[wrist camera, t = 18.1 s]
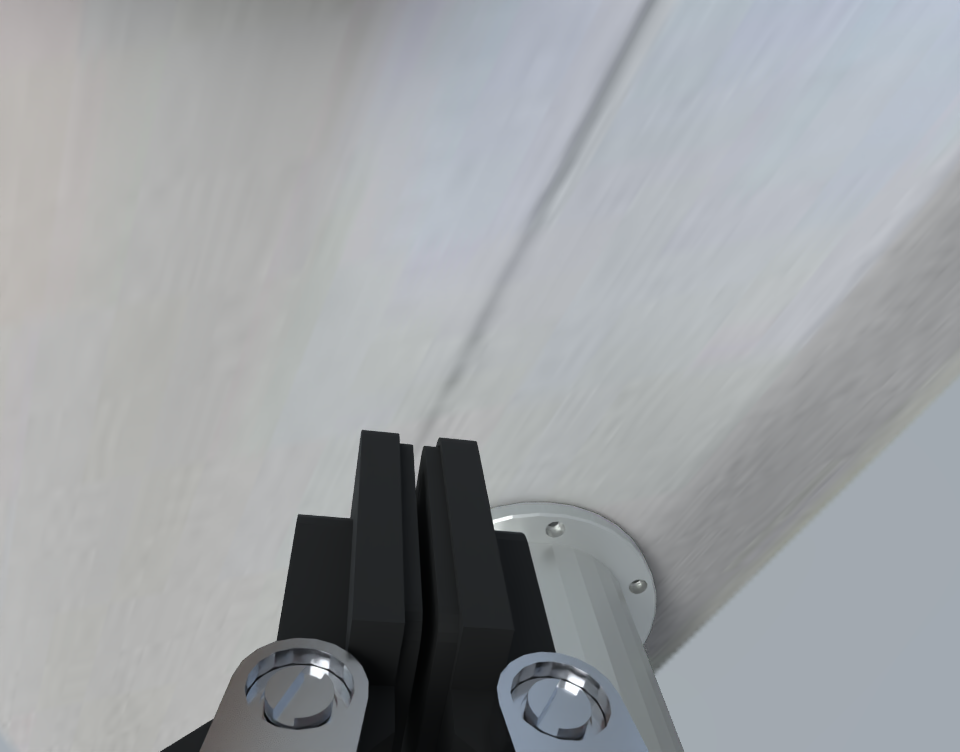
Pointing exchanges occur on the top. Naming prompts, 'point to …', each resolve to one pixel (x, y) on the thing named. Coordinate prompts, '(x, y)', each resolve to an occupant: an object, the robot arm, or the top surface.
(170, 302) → the top surface
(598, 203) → the top surface
